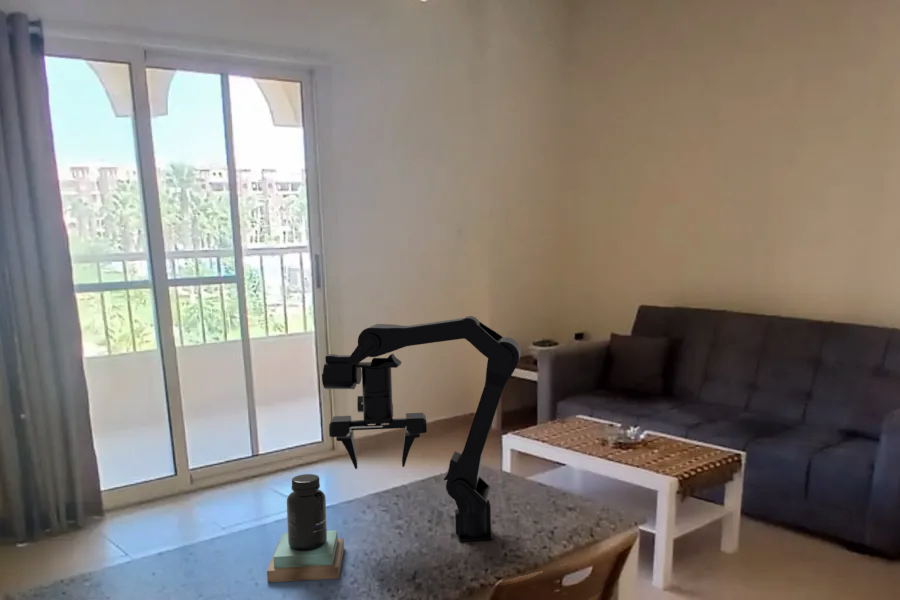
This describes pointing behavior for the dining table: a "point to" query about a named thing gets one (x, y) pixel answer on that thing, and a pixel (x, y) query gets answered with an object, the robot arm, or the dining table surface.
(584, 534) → the dining table surface
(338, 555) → the tower base
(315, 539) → the supplement bottle
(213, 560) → the dining table surface
